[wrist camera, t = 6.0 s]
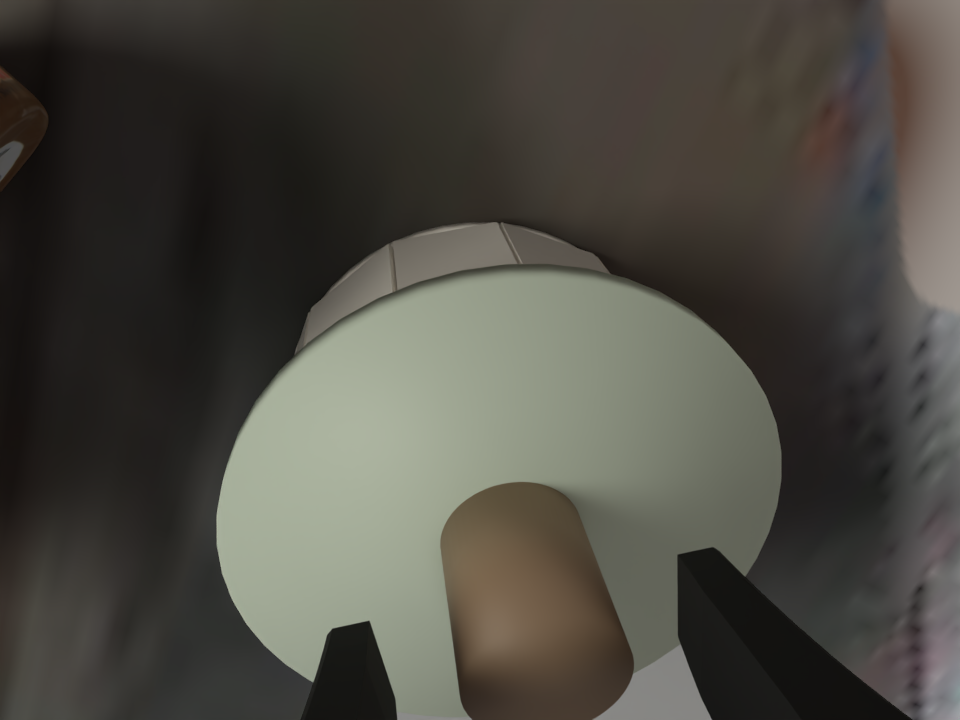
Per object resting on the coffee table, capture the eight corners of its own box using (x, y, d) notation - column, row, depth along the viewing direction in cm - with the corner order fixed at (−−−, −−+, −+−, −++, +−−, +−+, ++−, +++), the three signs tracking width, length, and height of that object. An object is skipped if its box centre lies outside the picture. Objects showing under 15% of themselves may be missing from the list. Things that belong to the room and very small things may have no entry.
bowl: (647, 489, 21) (713, 612, 17) (340, 553, 20) (335, 694, 17) (637, 187, 16) (724, 260, 12) (241, 261, 16) (202, 362, 12)
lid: (755, 635, 18) (845, 791, 14) (312, 737, 17) (300, 922, 14) (783, 205, 12) (940, 300, 9) (125, 338, 12) (32, 492, 8)
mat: (708, 740, 27) (712, 750, 27) (398, 811, 27) (398, 822, 26) (715, 504, 21) (721, 513, 21) (314, 589, 21) (313, 600, 20)
